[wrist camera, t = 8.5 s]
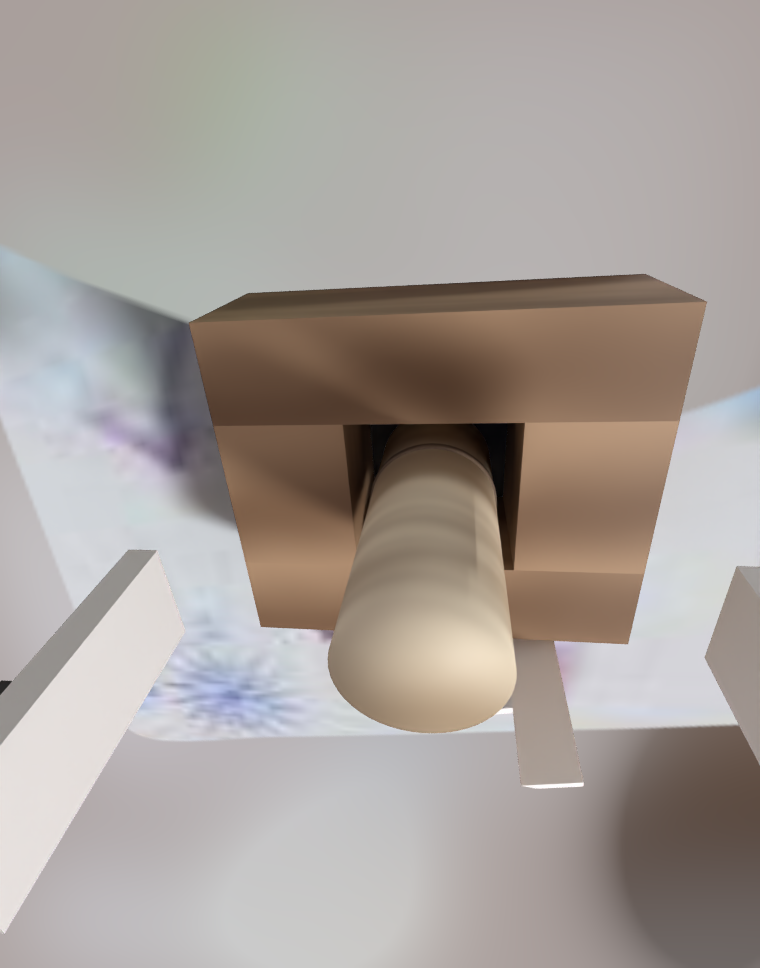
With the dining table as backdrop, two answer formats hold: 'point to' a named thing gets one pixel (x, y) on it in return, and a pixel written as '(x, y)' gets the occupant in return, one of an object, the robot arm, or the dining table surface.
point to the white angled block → (542, 719)
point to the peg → (427, 589)
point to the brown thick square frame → (451, 400)
